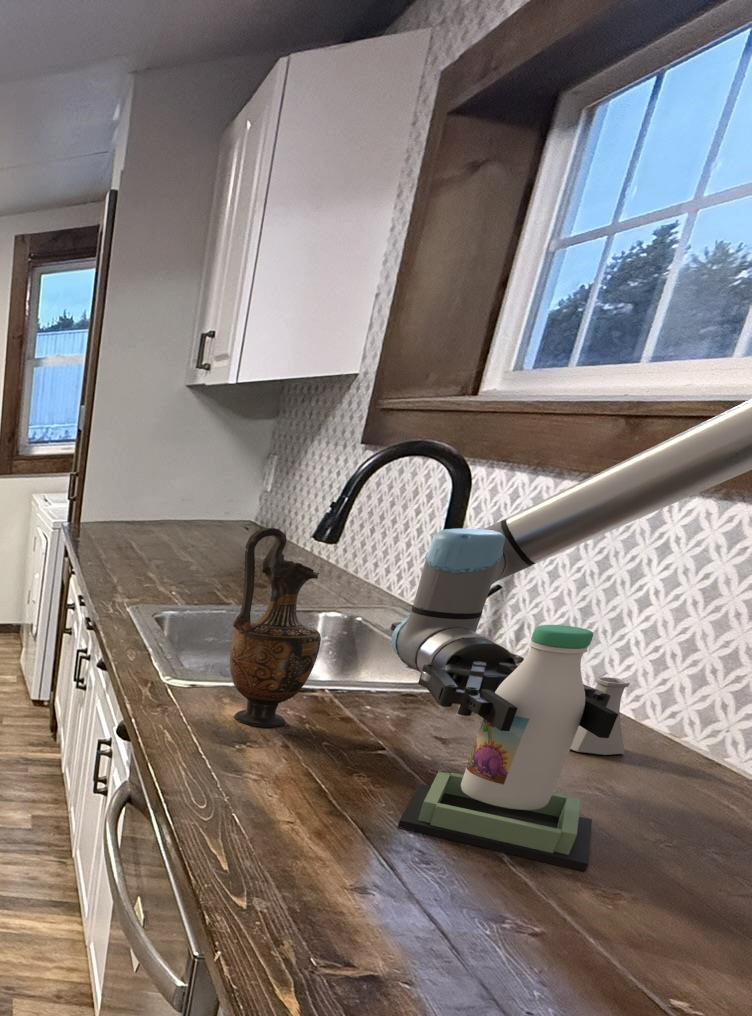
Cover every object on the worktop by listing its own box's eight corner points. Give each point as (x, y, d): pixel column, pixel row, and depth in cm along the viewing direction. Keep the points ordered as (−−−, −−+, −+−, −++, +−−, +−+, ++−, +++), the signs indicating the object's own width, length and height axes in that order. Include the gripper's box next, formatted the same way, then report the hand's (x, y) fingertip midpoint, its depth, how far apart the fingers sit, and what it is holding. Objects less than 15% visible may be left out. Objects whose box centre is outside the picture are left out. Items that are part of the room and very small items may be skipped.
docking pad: (589, 826, 96) (600, 799, 95) (584, 872, 87) (597, 842, 86) (416, 790, 107) (424, 765, 105) (397, 827, 98) (405, 800, 96)
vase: (311, 734, 126) (361, 533, 114) (219, 728, 130) (259, 533, 118) (288, 710, 136) (333, 523, 125) (204, 705, 140) (240, 523, 128)
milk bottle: (538, 791, 97) (603, 624, 89) (555, 817, 91) (626, 640, 83) (453, 779, 100) (509, 617, 93) (464, 803, 94) (525, 633, 87)
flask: (572, 755, 115) (599, 687, 111) (539, 737, 121) (563, 672, 118) (636, 758, 113) (665, 688, 109) (599, 739, 120) (625, 673, 116)
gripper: (554, 697, 105) (670, 764, 85) (363, 686, 112) (430, 746, 92) (576, 640, 102) (701, 695, 82) (378, 632, 109) (450, 682, 89)
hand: (558, 722), depth 87 cm, fingers closed on milk bottle, 8 cm apart
